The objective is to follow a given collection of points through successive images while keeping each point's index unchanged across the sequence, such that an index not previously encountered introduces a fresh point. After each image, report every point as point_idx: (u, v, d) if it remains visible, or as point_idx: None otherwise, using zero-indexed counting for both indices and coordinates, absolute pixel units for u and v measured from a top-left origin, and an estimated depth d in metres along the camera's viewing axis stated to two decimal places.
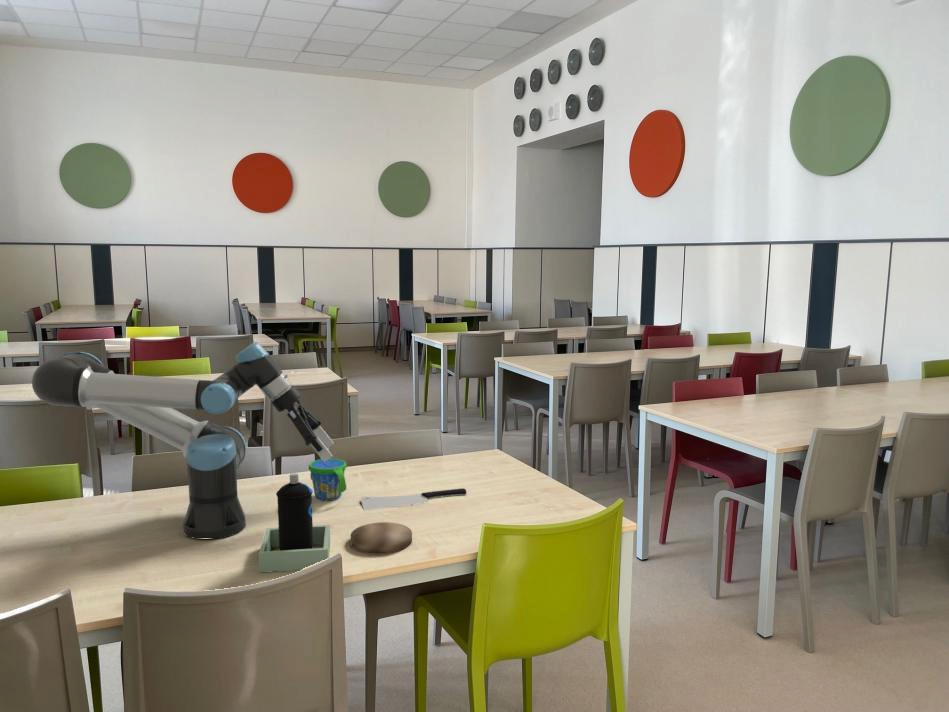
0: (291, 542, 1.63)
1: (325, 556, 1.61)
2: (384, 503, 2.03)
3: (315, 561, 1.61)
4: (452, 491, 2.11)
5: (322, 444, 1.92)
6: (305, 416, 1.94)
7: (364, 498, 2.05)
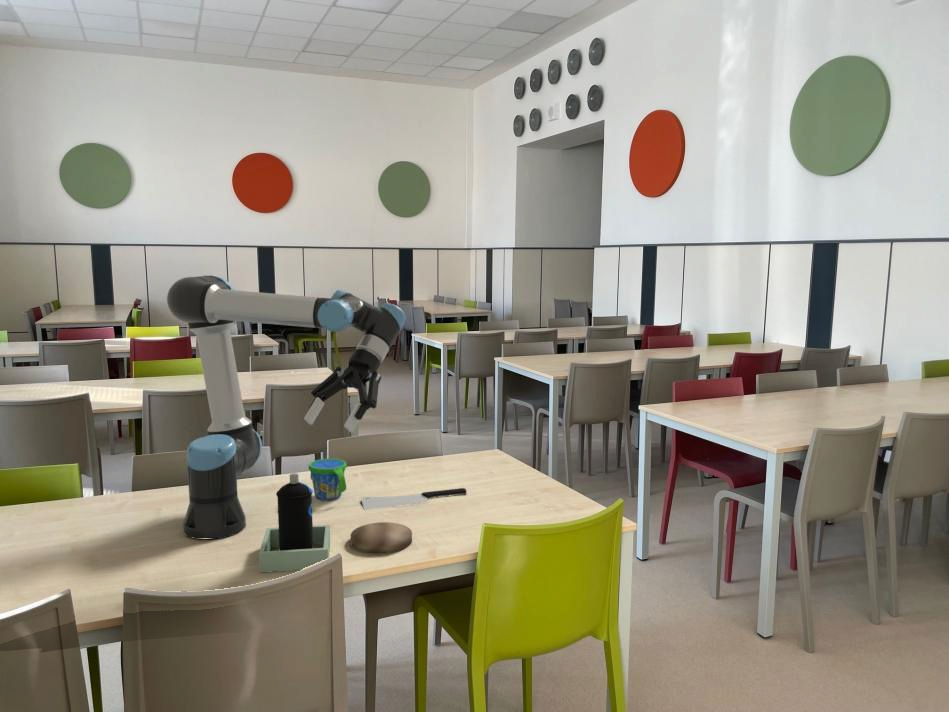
0: (291, 542, 1.63)
1: (325, 556, 1.61)
2: (384, 503, 2.03)
3: (315, 561, 1.61)
4: (452, 491, 2.11)
5: None
6: None
7: (364, 498, 2.05)
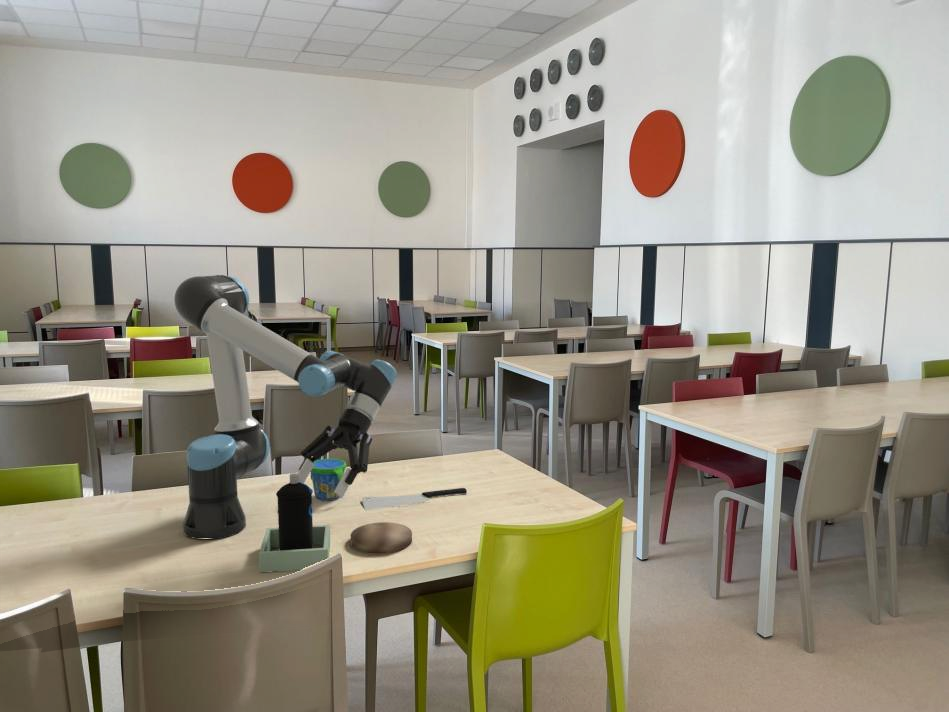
0: (291, 542, 1.63)
1: (325, 556, 1.61)
2: (385, 503, 2.03)
3: (315, 561, 1.61)
4: (452, 491, 2.11)
5: None
6: None
7: (365, 498, 2.05)
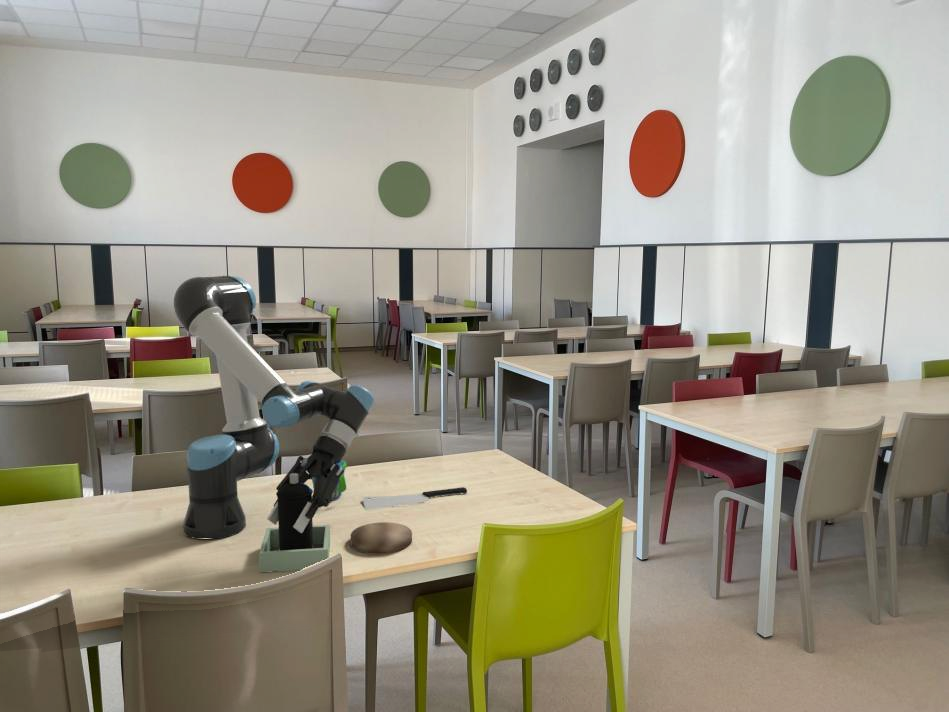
0: (291, 542, 1.63)
1: (325, 556, 1.61)
2: (386, 503, 2.03)
3: (315, 561, 1.61)
4: (453, 490, 2.11)
5: None
6: (326, 480, 1.70)
7: (365, 498, 2.05)
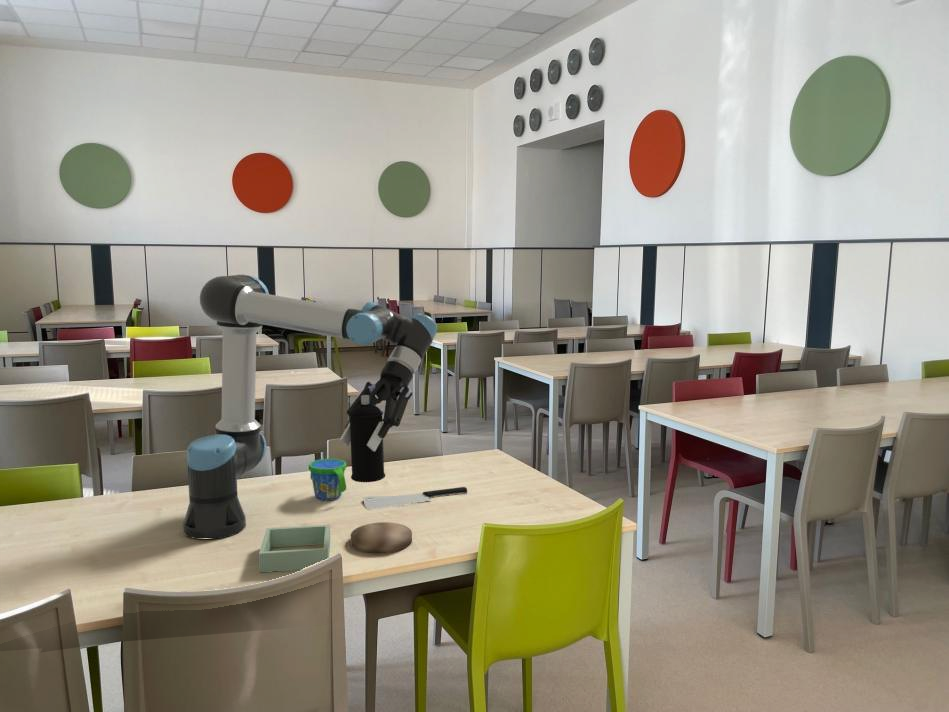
0: (364, 461, 1.67)
1: (325, 556, 1.61)
2: (386, 502, 2.03)
3: (315, 561, 1.61)
4: (453, 490, 2.12)
5: None
6: None
7: (366, 498, 2.05)
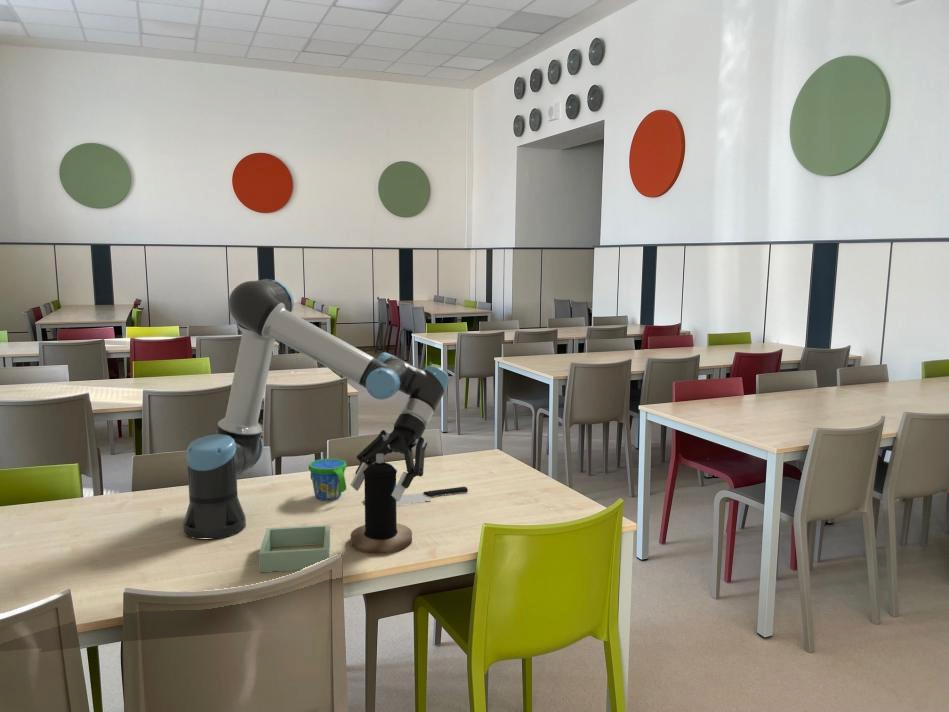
0: (378, 518, 1.72)
1: (325, 556, 1.61)
2: None
3: (315, 561, 1.61)
4: (454, 489, 2.12)
5: None
6: (411, 454, 1.78)
7: None
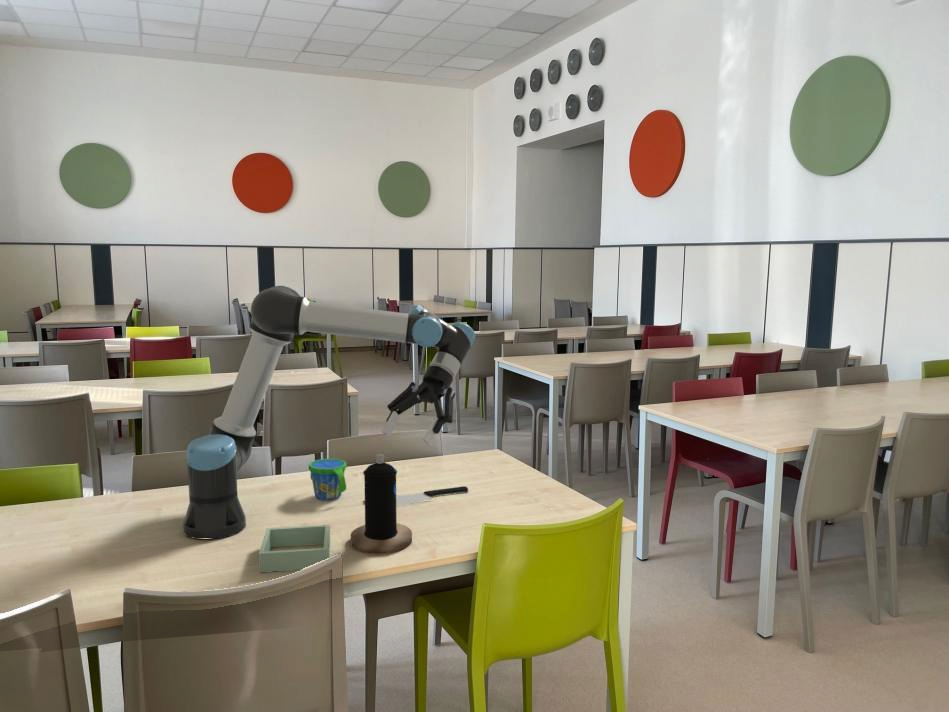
0: (378, 519, 1.72)
1: (325, 556, 1.61)
2: None
3: (315, 561, 1.61)
4: (454, 489, 2.12)
5: None
6: (440, 404, 1.87)
7: None
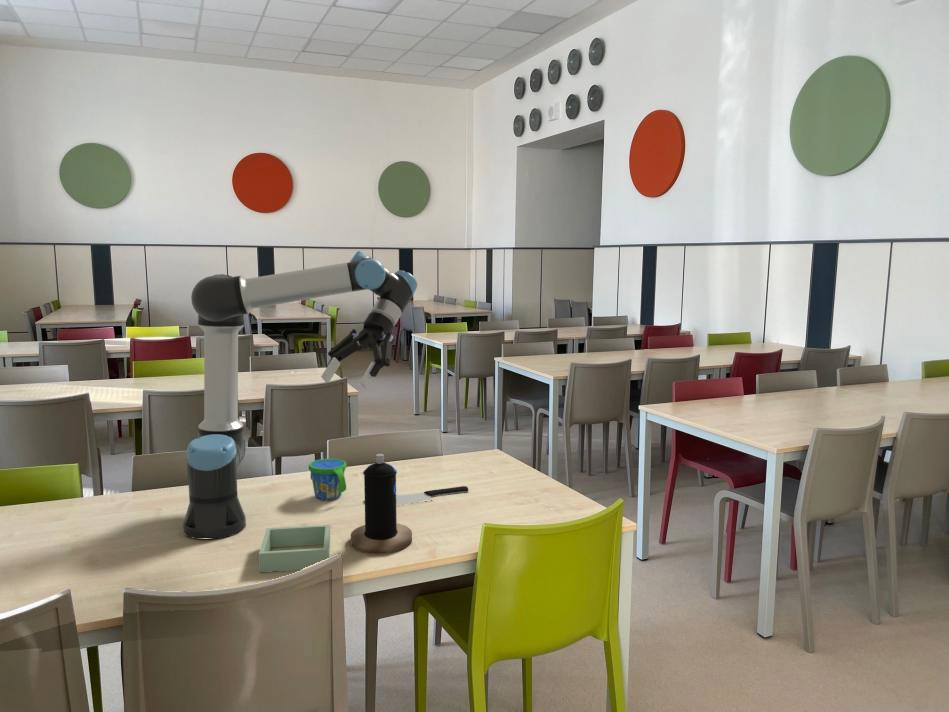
0: (378, 519, 1.72)
1: (325, 556, 1.61)
2: None
3: (315, 561, 1.61)
4: (454, 489, 2.13)
5: None
6: (379, 349, 1.88)
7: None
